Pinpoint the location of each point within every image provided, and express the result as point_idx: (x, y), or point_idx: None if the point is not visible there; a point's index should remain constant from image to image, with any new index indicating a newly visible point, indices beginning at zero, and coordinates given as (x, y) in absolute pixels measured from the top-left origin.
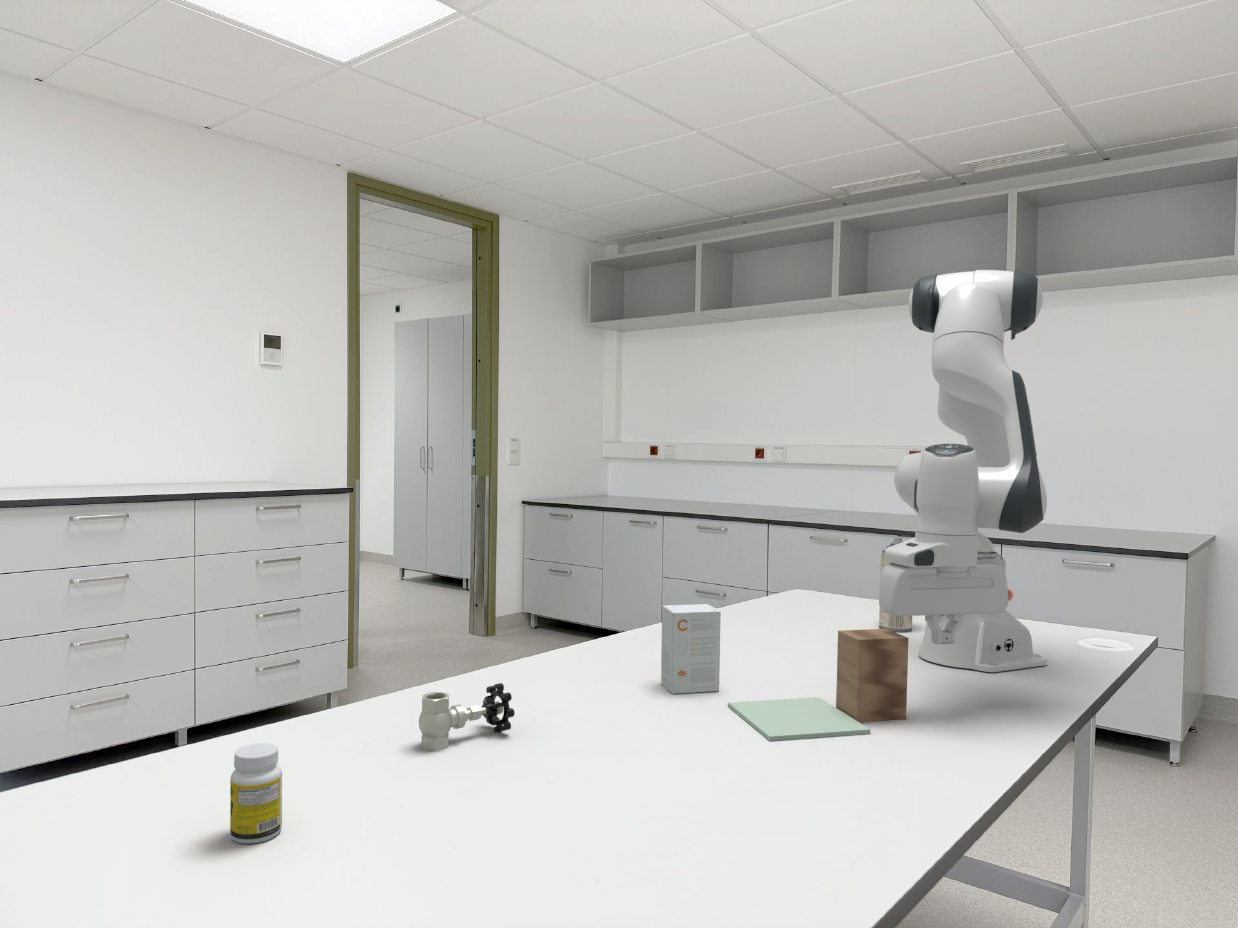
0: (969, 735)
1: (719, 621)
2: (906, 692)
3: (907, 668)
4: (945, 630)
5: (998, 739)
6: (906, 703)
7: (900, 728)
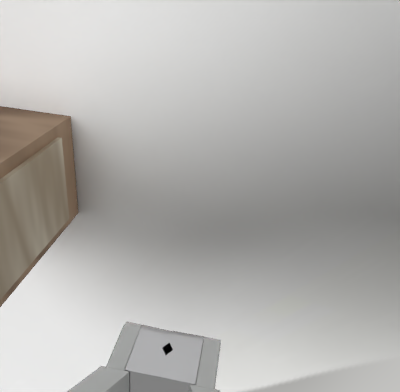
0: (153, 317)
1: None
2: (43, 253)
3: (2, 303)
4: (188, 389)
5: None
6: (58, 236)
7: None
